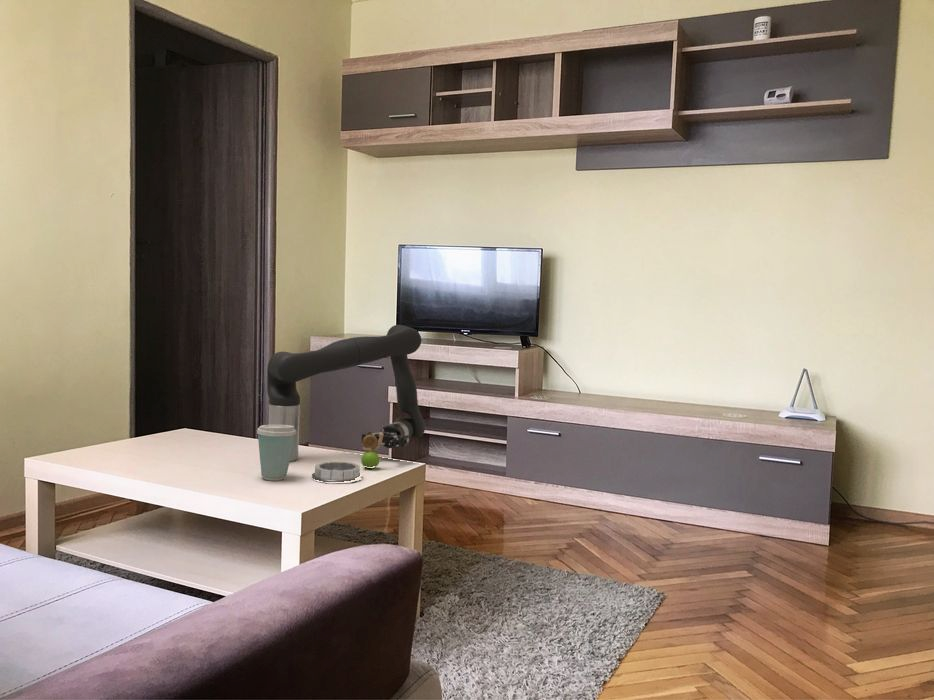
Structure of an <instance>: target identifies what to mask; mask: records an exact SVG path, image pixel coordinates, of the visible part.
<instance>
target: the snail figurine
mask: <svg viewBox="0 0 934 700" xmlns="http://www.w3.org/2000/svg"><path fill="white" fill-rule="evenodd" d="M382 431H384V430H383V429H382ZM379 433H380V432H379ZM383 435H384V434H383V433H380V434H379V440H377V438H376V437H375V436H374V435H367V436H365V437H364V439H363V443H362V445H363V446H364V447H362V449H363V451H365V452H364V453H363V454H362V455H361V457H360V458H361V459H360V461H361V462H360V463H361V464H362V467H364V466H367V467H373V466H377V467H378V466H379V464H380V456H379V454H378V453H377V452H376V451H377V450H379V449H380V448H381V445H382V444H381V443H382V439H383Z"/></svg>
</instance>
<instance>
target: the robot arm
mask: <svg viewBox="0 0 934 700" xmlns="http://www.w3.org/2000/svg"><path fill="white" fill-rule="evenodd" d="M421 344H422V336H421V334H420V332H419V331H417V330H416V329H415V328H413V327H410V326H406V325H403V324H395V325H393V326H391V327H390V328H389V329H388V330H387V333H386V335H381V336H354V337H350V338H344V339H341V340H337V341H336V340H335V341H334V342H331V343H329V344H327V345H326V346H324V347H321V348H320V349H317V350H313V351H306V352H297V353H293V352H288V351H278V352H275V353H274V354H272V355H271V357H270V358H269V360H268V363H267V371H266V373H267V374H266V375H267V376H266V377H267V378H266V379H267V381H266V382H267V383H266V384H267V385H266V389H267V391H266V392H267V396H268V399H269V400H268V425H290V426H294V427H295V428H294V429H295V430H296V434H295V438H294V442H293V447H292V452H291V457H290V461H291V462H296V461H298V460H299V445H300V443H299V442H300V415H301V414H300V413H301V411H300V410H301V396H300V393H299V392H298V388H297V382H301V381H302V380H305V379H308V378H310V377H315V376H316V375H319V374H323V373H330V372H335V371H340V370H344V369H349V368H353V367H357V366H361V365H364V364H367V363H373V362H376V361H379V360H382V359H387V358H390V362H391V367H392V370H393V371H392V372H393V376H394V382H395V390H396V391H395V392H396V403H397V409H398V411H399V412H401V413H404V414H408V415H409V416H401V417H400V416H399V417H397V418H396V419H395V421H394V422H392V423H390V424H389V423H388V424H387V425H385V426H383V427H382V429H383V430H384V431H382V429H381V430H380V431H379V432H373V433H372V432H371V431H367V432H364V433H362V434H361V443H362V444H363V439H364V437H365V436H367V435H374V436H375V437H376V438H377V440H379V434H380V433H383V434H384V435H383V439H382V443H381V445H382V446H384V447H385V448H388V449H395V448H397V447H400V446H401V447H406V446H407V445H409V443H410V442H409V441H410V438H421V437H422V436H423V435H424V433H425V430H426V429H425V428H426V427H425V426H426V425H425V422H424V419H423V415H422V413H421V411H420V407H419V402H418V389H417V386H416V381H415V379H414V375H413V373H412V370H411V368H410V364H409V359H408V355H411V354H413V353H416V352H417V350H419V349H420V347H421ZM297 459H298V460H297ZM295 460H296V461H295Z"/></svg>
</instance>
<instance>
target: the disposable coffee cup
mask: <svg viewBox="0 0 934 700" xmlns="http://www.w3.org/2000/svg"><path fill="white" fill-rule="evenodd" d="M294 428H295V427H294V426H290V425H269V424H262V425H260V426H259V427H258V428H256V433H257V439H258V441H257V442H258V451H259V462H260V463H259V464H260V474H261V477H262V479H263V480H266V481H282V479H283V480H285V479H286V477H287V476H288V471H289V467H290V466H289V465H290V457H291V452H292V447H293V442H294V438H295V434H296V430H295V429H294ZM284 478H285V479H284Z"/></svg>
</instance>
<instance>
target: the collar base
mask: <svg viewBox="0 0 934 700" xmlns="http://www.w3.org/2000/svg"><path fill="white" fill-rule="evenodd" d="M360 472H361V466H360V464H357V463H355V462H348V461H324V462H320V463H316V464H315V465H314V472H313V473H312V474H311V478H313V479H315V480H319V481H323V482H344V481H351V480H355V478H357V477H359V476H360ZM313 479H312V480H313Z"/></svg>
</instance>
